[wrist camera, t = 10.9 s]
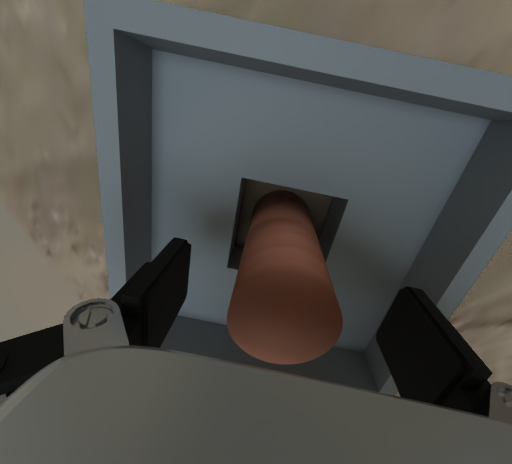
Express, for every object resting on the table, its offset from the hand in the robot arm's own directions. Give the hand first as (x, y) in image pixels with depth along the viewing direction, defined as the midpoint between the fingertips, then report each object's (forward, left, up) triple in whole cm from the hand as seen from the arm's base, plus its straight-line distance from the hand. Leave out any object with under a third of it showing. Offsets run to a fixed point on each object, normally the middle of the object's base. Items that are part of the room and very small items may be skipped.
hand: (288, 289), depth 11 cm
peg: (0, 0, -8) cm, 8 cm away
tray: (0, 0, -8) cm, 8 cm away
